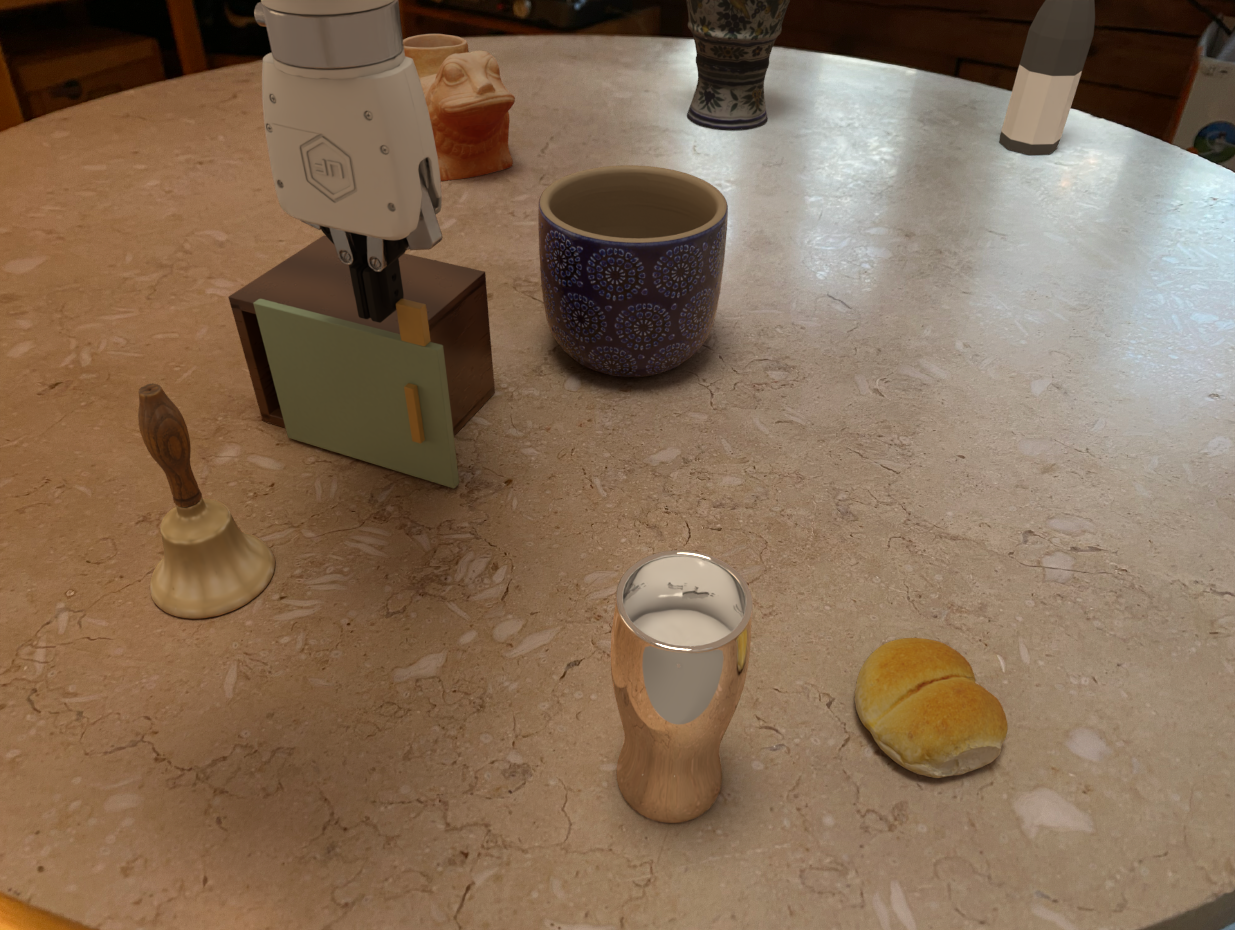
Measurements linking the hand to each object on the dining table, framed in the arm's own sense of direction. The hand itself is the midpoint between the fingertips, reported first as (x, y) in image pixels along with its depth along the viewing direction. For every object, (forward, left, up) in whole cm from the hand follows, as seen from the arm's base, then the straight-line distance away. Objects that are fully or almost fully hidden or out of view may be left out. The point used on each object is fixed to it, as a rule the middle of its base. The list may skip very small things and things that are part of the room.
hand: (381, 311), depth 66 cm
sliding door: (0, +3, -14) cm, 15 cm away
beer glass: (-17, -29, -15) cm, 37 cm away
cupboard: (+7, +7, -15) cm, 18 cm away
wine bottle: (+99, -40, -15) cm, 108 cm away
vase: (+92, +3, -15) cm, 93 cm away
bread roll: (-7, -42, -15) cm, 45 cm away
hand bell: (-15, +6, -15) cm, 22 cm away
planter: (+25, -9, -15) cm, 30 cm away
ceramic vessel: (+61, +32, -15) cm, 70 cm away
